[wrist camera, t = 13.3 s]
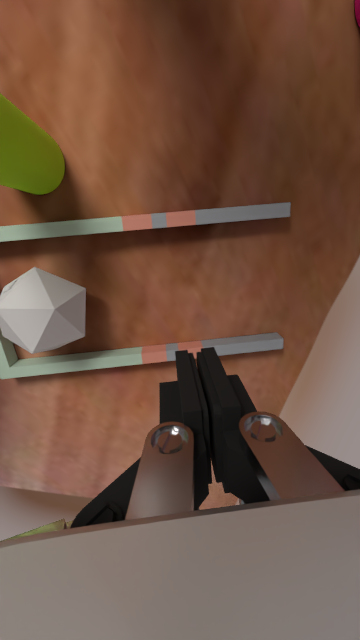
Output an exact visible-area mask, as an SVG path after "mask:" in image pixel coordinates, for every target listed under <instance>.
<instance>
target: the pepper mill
mask: <svg viewBox="0 0 360 640" xmlns="http://www.w3.org/2000/svg"><path fill="white" fill-rule="evenodd" d="M355 16H356V20H357V23H358V26H359V27H360V0H355Z"/></svg>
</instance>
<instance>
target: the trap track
mask: <svg viewBox="0 0 360 640" xmlns="http://www.w3.org/2000/svg"><path fill="white" fill-rule="evenodd" d="M290 206H291V202H287V203H275V204H263V205H251V206H239V207H227V208H215V209H203V210H191V211H180V212H168V213H156V214H144V215H132V216H120V217H108V218H96V219H85V220H73V221H61V222H49V223H37V224H25V225H13V226H1V227H0V242H4V241H15V240H27V239H38V238H50V237H61V236H73V235H85V234H96V233H108V232H119V231H131V230H142V229H154V228H165V227H177V226H188V225H200V224H212V223H223V222H235V221H246V220H258V219H269V218H281V217H290ZM283 339H284V338H282V337H281V336H280V335H279V334H278V333H277V332H276V333H267V334H257V335H248V336H238V337H229V338H219V339H210V340H200V341H191V342H181V343H172V344H162V345H153V346H143V347H134V348H124V349H115V350H105V351H96V352H86V353H77V354H68V355H58V356H49V357H39V358H30V359H20V360H18V358H17V355H16V352H15V349H14V345H13V342H12V341H10V340H9V339H7V338H5V337H4V336H3V335H2V332H1V328H0V378H1V379H8V378H17V377H26V376H36V375H45V374H54V373H63V372H73V371H82V370H91V369H100V368H110V367H119V366H128V365H137V364H147V363H156V362H165V361H174V360H176V357H175V351H180V350H188V353H193V355H194V358H197V355H196V353H197V352H201V348H209V347H214V348H215V351H216V353H217V355H218V356H221V355H230V354H239V353H248V352H258V351H267V350H276V349H283Z"/></svg>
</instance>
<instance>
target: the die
mask: <svg viewBox="0 0 360 640" xmlns="http://www.w3.org/2000/svg"><path fill="white" fill-rule="evenodd" d="M85 311H86V288H84V287H82V286H79V285H77V284H74V283H72V282H70V281H67V280H65V279H62V278H60V277H58V276H55V275H53V274H50V273H48V272H46V271H43V270H41V269H38V268H36V267H34V268H32V269H31V270H29V271H27V272H26V273H24V274H23V275H21V276H20V277H18V278H17V279H15V280H14V281H12V282H11V283H9V284H8V285H6V286H5V287H4V288H3V291H2V293H1V295H0V328H1V332H2V335H3V336H4V337H5V338H7V339H9V340H10V341H12V342H14V343H15V344H17V345H19V346H20V347H22V348H24V349H25V350H27V351H29V352H30V353H32V354H33V353H38V352H44V351H49V350H54V349H56V348H59V347H61V346H63V345H66V344H68V343H70V342H73V341H75V340H78V339H80V338H82V337H85Z"/></svg>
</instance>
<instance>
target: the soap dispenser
mask: <svg viewBox="0 0 360 640" xmlns="http://www.w3.org/2000/svg"><path fill="white" fill-rule="evenodd" d="M64 172H65V162H64V157H63V154H62V151H61V149H60V147H59V146H58V144H57V143H56V142H55V140H54V139H53V138H52V137H51V136H50V135H48V134H47V133H46V132H45V131H44V130H43V129H41V128H40V127H39V126H38V125H37V124H36V123H34V122H33V121H32V120H31V119H30V118H29V117H27V116H26V115H25V114H24V113H23V112H22V111H20V110H19V109H18V108H17V107H16V106H15V105H13V104H12V103H11V102H10V101H9V100H8V99H6V98H5V97H4V96H3V95H2V94H1V93H0V185H3V186H7V187H11V188H14V189H18V190H21V191H25V192H28V193H32V194H38V195H41V194H47V193H50V192H52V191H53V190H55V189H56V188H57V187H58V186H59V185H60V183H61V181H62V179H63V177H64Z"/></svg>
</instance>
